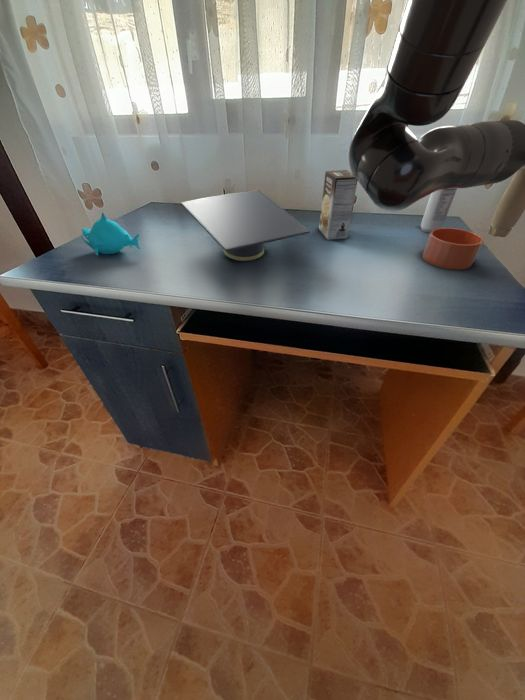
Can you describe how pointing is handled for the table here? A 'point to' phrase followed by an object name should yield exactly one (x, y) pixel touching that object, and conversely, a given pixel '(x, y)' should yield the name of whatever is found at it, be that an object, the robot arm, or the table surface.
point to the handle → (509, 206)
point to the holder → (452, 248)
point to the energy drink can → (437, 209)
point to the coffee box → (337, 203)
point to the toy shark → (107, 237)
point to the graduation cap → (243, 222)
